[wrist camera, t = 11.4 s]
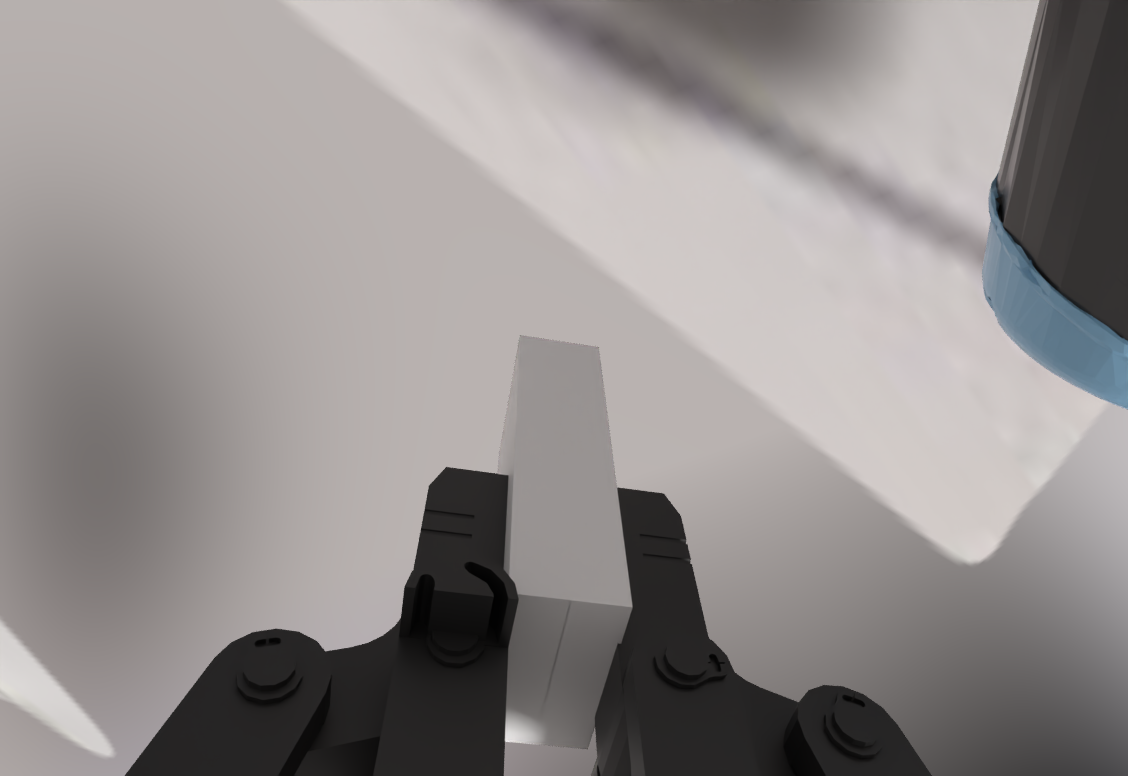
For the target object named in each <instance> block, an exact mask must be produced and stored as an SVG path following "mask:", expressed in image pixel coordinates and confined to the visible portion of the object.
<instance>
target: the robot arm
mask: <svg viewBox="0 0 1128 776" xmlns="http://www.w3.org/2000/svg"><path fill="white" fill-rule="evenodd" d="M989 213H990V217H991V222H990V228H989V234H988V239H987V245H986V251H985V257H984V263H983V270H982V280H983V289H984V294H985V297H986V300H987V302H988V303H989V305H990V306H991V308H992V309H993V311H994V312H995V316H996V317H997V320H998V323H999V325H1000V326H1001V328H1002V329H1003V330H1004V332H1005V333H1006V334H1007V335H1008V336H1009V337H1010V338H1011V339H1012V340H1013V341H1014V342H1015V343H1016V344H1017V345H1018V346H1019V347H1020V348H1021V349H1022V350H1023V351H1024V352H1025V353H1026V354H1027V355H1029V356H1030V357H1031V358H1032V359H1034V360H1035V361H1036V362H1038V363H1039V364H1040V365H1042V366H1043V367H1045V368H1046V369H1048V370H1049V371H1051V372H1052V373H1054V374H1055V375H1057V376H1058V377H1060V378H1062V379H1064V380H1065V381H1067V382H1069V383H1071V384H1072V385H1074V386H1076V387H1078V388H1080V389H1082V390H1084V391H1086V392H1088V393H1090V394H1092V395H1094V396H1096V397H1098V398H1100V399H1103V400H1105V401H1107V402H1110V403H1112V404H1115V405H1117V406H1120V407H1123V408H1125V409H1128V0H1040V1H1039V5H1038V9H1037V14H1036V18H1035V22H1034V26H1033V31H1032V35H1031V39H1030V43H1029V47H1028V52H1027V56H1026V60H1025V64H1024V69H1023V73H1022V77H1021V81H1020V85H1019V90H1018V94H1017V98H1016V102H1015V107H1014V111H1013V115H1012V119H1011V123H1010V128H1009V132H1008V136H1007V140H1006V145H1005V149H1004V153H1003V157H1002V161H1001V166H1000V170H999V172H998V174H997V176H996V178H995V179H994V181H993V182H992V184H991V188H990V193H989ZM602 377H603V376H602V369H601V361H600V353H599V347H595V346H588V345H582V344H575V343H569V342H561V341H554V340H549V339H542V338H535V337H528V336H522V335H520V338H519V343H518V349H517V355H516V360H515V366H514V372H513V377H512V383H511V388H510V394H509V400H508V405H507V411H506V417H505V422H504V428H503V434H502V440H501V445H500V451H499V461H498V474H495V473H487V472H480V471H472V470H464V469H457V468H449V467H446V468H445V469H444V470H443V471H442V472H441V473H440V475H438V477H437V478H436V479H435V480H434V481H433V482H432V483H431V484H430V485H429V489H428V494H427V500H426V505H425V511H424V516H423V521H422V527H421V533H420V537H419V543H418V549H417V554H416V559H415V564H414V570H413V571H412V573H411V575H410V577H409V579H408V581H407V583H406V585H405V588H404V598H403V605H402V614H401V619H400V620H399V622H398V623H397V624H396V625H395V626H394V627H393V628H392V629H391V630H390V631H388V632H387V633H386V634H384V635H383V636H381V637H379V638H377V639H375V640H373V641H371V642H369V643H366V644H362V645H358V646H354V647H350V648H344V649H338V650H332V651H326V652H325V651H324V649H323V648H322V647H321V646H320V644H319V643H318V642H317V641H315V640H314V639H312V638H310V637H308V636H306V635H304V634H302V633H300V632H296V631H289V630H282V629H272V630H265V631H259V632H253V633H251V634H248V635H246V636H244V637H242V638H240V639H238V640H235V641H233V642H231V643H230V644H229V645H228V646H227V647H226V648H225V649H224V650H222V651H221V653H219V654H218V655H217V656H216V657H215V658H214V659H213V661H212V662H211V663H210V664H209V666H208V667H207V668H206V670H205V671H204V672H203V674H202V675H201V676H200V678H199V679H198V680H197V682H196V683H195V684H194V685H193V687H192V688H191V689H190V691H189V692H188V693H187V695H186V696H185V697H184V699H183V700H182V701H181V703H180V704H179V705H178V706H177V708H176V709H175V710H174V712H173V713H172V714H171V716H170V717H169V718H168V720H167V721H166V722H165V724H164V725H163V726H162V727H161V729H160V730H159V731H158V733H157V734H156V735H155V737H154V738H153V739H152V741H151V742H150V743H149V745H148V746H147V747H146V749H145V750H144V751H143V753H142V754H141V755H140V756H139V758H138V759H137V760H136V762H135V763H134V764H133V766H132V767H131V768H130V770H129V771H128V772H127V773H126V775H125V776H504V749H505V742H517V743H527V744H538V745H548V746H558V747H570V748H580V749H588V747H589V744H590V741H591V737H592V734H593V731H594V728H595V729H596V743H597V759H596V762H595V765H594V768H593V771H592V774H591V776H932V775H931V774H930V772H929V771H928V769H927V768H926V766H925V765H924V763H923V762H922V761H921V759H920V758H919V756H918V755H917V753H916V752H915V750H914V749H913V747H912V746H911V744H910V743H909V741H908V740H907V738H906V737H905V735H904V734H903V732H902V731H901V729H900V728H899V727H898V725H897V724H896V723H895V721H894V720H893V719H892V718H891V717H890V716H889V715H888V713H886V711H885V710H884V709H883V708H882V707H881V706H879V705H878V704H876V703H875V702H874V701H872V700H871V699H869V698H868V697H866V696H865V695H864V694H861V693H859V692H856V691H853V690H851V689H848V688H845V687H842V686H829V685H823V686H820V687H817V688H814V689H811V690H809V691H808V692H807V693H806V694H805V696H804V697H803V698H802V699H801V701H800V702H796V701H794V700H791V699H788V698H786V697H783V696H781V695H778V694H775V693H773V692H770V691H768V690H765V689H763V688H760V687H758V686H756V685H754V684H752V683H750V682H748V681H746V680H744V679H743V678H742V677H740V676H739V675H737V674H736V673H735V672H734V670H733V668H732V666H731V664H730V661H729V659H728V657H727V655H726V654H725V653H724V652H723V651H722V650H721V649H720V648H719V647H718V646H717V645H716V644H715V643H714V642H713V641H712V640H710V639H709V637H708V633H707V629H706V625H705V621H704V616H703V611H702V607H701V603H700V598H699V594H698V589H697V585H696V581H695V576H694V572H693V567H692V564H690V560H691V558H690V554H689V550H688V545H687V544H686V536H685V533H684V528H683V524H682V519H681V516H680V514H679V513H678V512H677V510H676V509H675V508H674V507H673V505H672V504H671V502H670V501H669V500H668V499H667V497H666V496H665V495H664V494H662V493H655V492H647V491H640V490H632V489H625V488H617V485H616V477H615V468H614V461H613V454H612V445H611V438H610V430H609V423H608V415H607V407H606V399H605V392H604V384H603V378H602Z"/></svg>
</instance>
